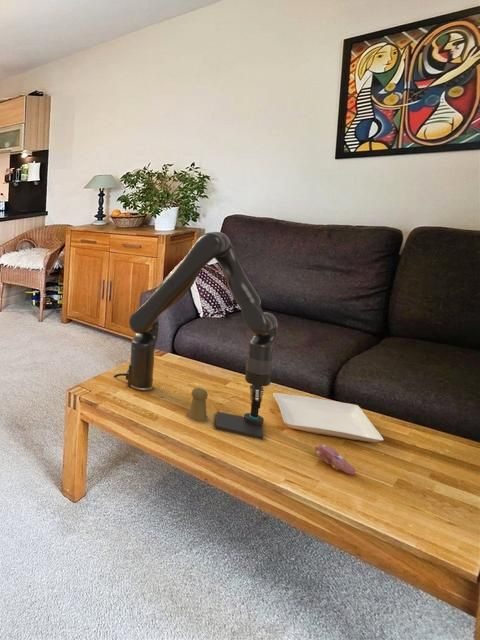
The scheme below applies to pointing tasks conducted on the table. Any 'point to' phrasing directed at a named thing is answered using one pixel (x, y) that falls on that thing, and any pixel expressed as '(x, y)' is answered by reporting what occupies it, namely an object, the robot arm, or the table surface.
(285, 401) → the square plate
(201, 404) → the cork
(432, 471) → the table surface
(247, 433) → the scale
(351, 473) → the pink tapered lump
